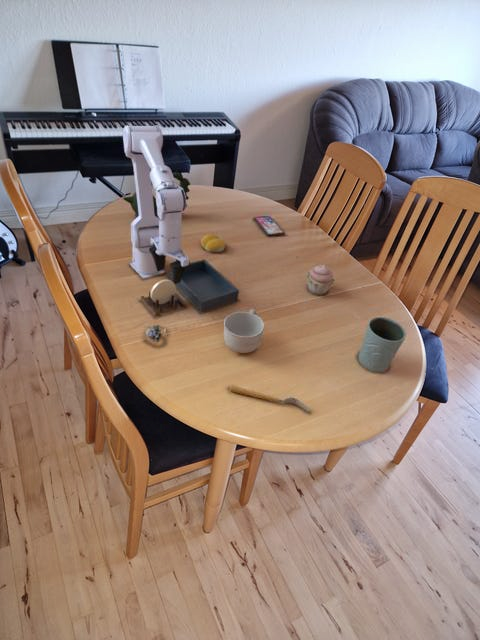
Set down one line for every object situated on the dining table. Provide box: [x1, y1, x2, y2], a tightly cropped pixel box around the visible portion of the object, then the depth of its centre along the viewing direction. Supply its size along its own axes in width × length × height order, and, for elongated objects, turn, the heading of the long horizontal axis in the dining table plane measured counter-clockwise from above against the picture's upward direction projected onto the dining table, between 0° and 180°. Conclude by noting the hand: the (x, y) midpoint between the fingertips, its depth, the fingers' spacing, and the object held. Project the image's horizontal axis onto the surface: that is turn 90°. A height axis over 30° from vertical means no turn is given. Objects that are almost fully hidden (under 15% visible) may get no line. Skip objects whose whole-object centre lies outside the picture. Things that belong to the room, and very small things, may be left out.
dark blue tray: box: [167, 258, 240, 313], centre depth 137 cm, size 20×14×4 cm
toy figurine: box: [122, 171, 191, 219], centre depth 166 cm, size 9×19×25 cm
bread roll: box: [200, 233, 226, 253], centre depth 159 cm, size 8×9×4 cm
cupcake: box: [306, 263, 336, 296], centre depth 144 cm, size 9×9×10 cm
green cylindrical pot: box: [358, 316, 407, 373], centre depth 119 cm, size 10×10×12 cm
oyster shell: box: [144, 324, 168, 343], centre depth 118 cm, size 7×8×2 cm
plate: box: [150, 278, 177, 304], centre depth 127 cm, size 1×8×8 cm, turn 126°
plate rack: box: [140, 291, 186, 317], centre depth 129 cm, size 9×10×3 cm
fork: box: [229, 385, 311, 413], centre depth 106 cm, size 2×2×20 cm
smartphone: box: [253, 215, 285, 237], centre depth 178 cm, size 8×1×15 cm
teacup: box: [223, 308, 265, 354], centre depth 120 cm, size 14×11×8 cm
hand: (168, 276), depth 124 cm, fingers open, 7 cm apart
